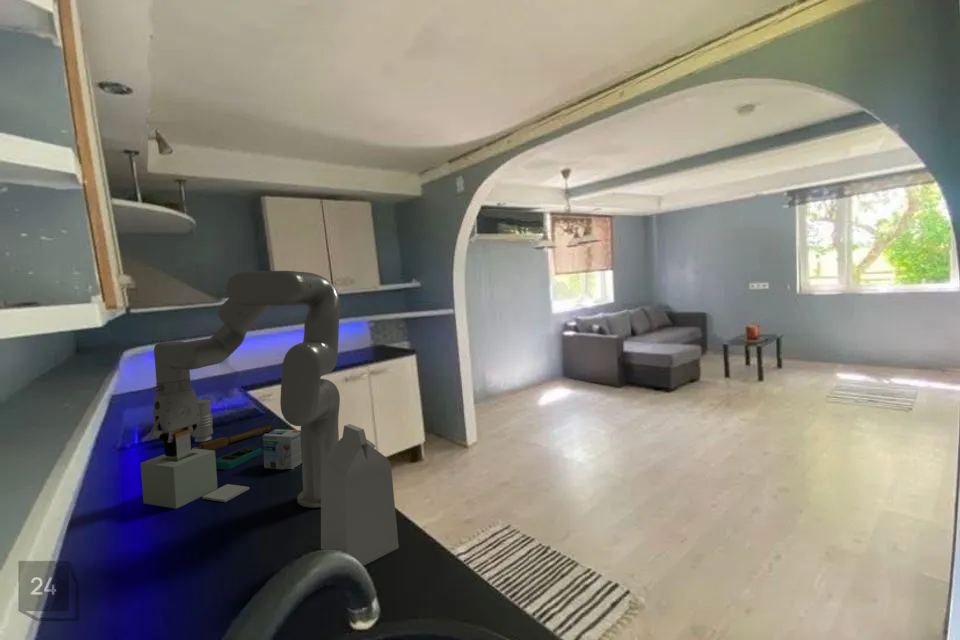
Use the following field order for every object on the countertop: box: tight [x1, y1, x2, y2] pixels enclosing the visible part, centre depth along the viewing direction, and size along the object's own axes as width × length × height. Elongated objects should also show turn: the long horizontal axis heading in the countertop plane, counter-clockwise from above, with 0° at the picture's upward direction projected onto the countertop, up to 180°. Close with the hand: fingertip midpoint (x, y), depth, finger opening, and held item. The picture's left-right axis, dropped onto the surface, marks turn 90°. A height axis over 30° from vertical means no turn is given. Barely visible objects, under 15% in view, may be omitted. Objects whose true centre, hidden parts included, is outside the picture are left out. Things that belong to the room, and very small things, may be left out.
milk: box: [320, 423, 400, 566], centre depth 90 cm, size 12×12×26 cm
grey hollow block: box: [140, 448, 219, 510], centre depth 119 cm, size 12×12×11 cm
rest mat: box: [201, 483, 250, 503], centre depth 119 cm, size 8×8×1 cm
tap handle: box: [192, 424, 273, 451], centre depth 163 cm, size 3×3×30 cm
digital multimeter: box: [216, 445, 263, 471], centre depth 144 cm, size 7×15×3 cm, turn 164°
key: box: [167, 429, 192, 462], centre depth 118 cm, size 4×4×9 cm
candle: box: [192, 398, 214, 443], centre depth 168 cm, size 7×7×15 cm
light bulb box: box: [262, 428, 302, 470], centre depth 138 cm, size 11×7×11 cm, turn 76°
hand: (179, 452), depth 118 cm, fingers closed on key, 4 cm apart
